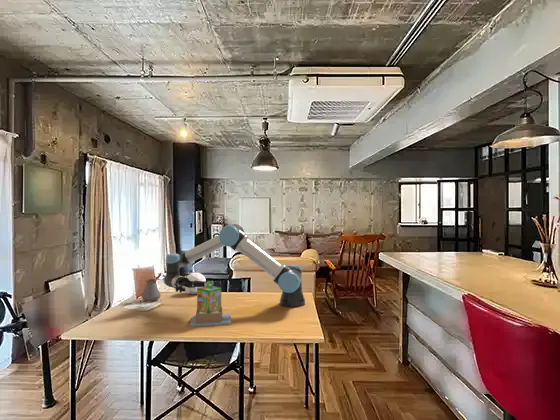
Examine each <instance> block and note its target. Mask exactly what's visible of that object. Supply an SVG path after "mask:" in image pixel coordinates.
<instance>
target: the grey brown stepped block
mask: <svg viewBox="0 0 560 420" xmlns="http://www.w3.org/2000/svg"><path fill="white" fill-rule="evenodd" d="M195 312H196V313H195V314H193V315H192V317H191V321H190V323H189V327H190V326H191V327H206V326H207V327H208V326H227V325H228V326H229V325H230V326H231V325H232V314H231V313H230V312H229V313H223V306H221V310H218V311H214V312H211V313H206V312H202V311H198V310H197V309H196V311H195Z"/></svg>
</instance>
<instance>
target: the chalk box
mask: <svg viewBox="0 0 560 420" xmlns="http://www.w3.org/2000/svg"><path fill="white" fill-rule="evenodd" d="M206 281H207V286H206V287H201V288H197V294H196V311H197V310H198V311H202V312H206V313H211V312H214V311H218V310H221V307H222V287H221V286H220V287H219V286H214V284H215V282H214V281H211V280H206ZM209 284H211V286H209Z"/></svg>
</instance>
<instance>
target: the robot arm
mask: <svg viewBox="0 0 560 420" xmlns="http://www.w3.org/2000/svg"><path fill="white" fill-rule="evenodd" d="M224 247H229V248H231V249H232V250H233V251H234V252H240V253H241V254H242V255H243V256H245V257H246V258H248V259H249V260H250V261H251V262H253V263H254V264H255V265H257V266H258V267H259V268H261V269H262V270H263V271H264V272H266V273H267V274H268V275H269V276H271V277H272V281H273V282H274V283H275V284H276V285H277V286H278V287H279V289H280V290H281V291H282V292H281V296H280V299H279V305H281V306H283V307H289V308H290V307H291V308H293V307H294V308H295V307H297V308H298V307H302V306H304V305H306V298H305V296H304V293H303V274H302V273H303V267H302V266H301V265H287V264H281V263H280V262H279V261H277V260H276V259H275V258H274V257H272V256H271V255H269V254H268V253H267V252H266V251H264V250H263V249H262V248H261V247H259V246H258V245H257V244H256V243H254V242H253V241H252V240H250V239H249V235H248V234H247V233H245V230H244V229H243V227H242V226H241V225H239V224H236V223H235V224H234V223H233V224H227V225H225V226H224V227H222V228H221V230H220V231H219V235H216V236H214V237H213V238H210V239H208V240H207V241H205V242H202V243H201V244H198V245H196V246H194V247H193V248H191V249H189V250H186V251H184V252H182V253H181V254H179V253H168V254H166V257H165V258H166V259H165V264H166V266H165V268H166V271H165V275H164V277H163V283H164V285H165V286H168V287H169V288H172V289H173V288H174V289H175V292H176V293H177V292H179V293H183V292H184V293H187V294H191V293H190V288H195V287H206V286H207V281H208V280H206V282H205V281H196V280H195V281H190V280H189V279H188V278H186V277H187V276H182V275H180V274H181V273H180V271H181V270H180V269H181V268H183V267H186V266H187V265H189V264H191V263H193V262H195V261H197V260H199V259H201V258H203V257H205V256H207V255H210V254H211V253H213V252H216V251H218V250H219V249H221V248H224ZM209 286H211V283H209Z"/></svg>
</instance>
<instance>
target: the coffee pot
mask: <svg viewBox="0 0 560 420" xmlns="http://www.w3.org/2000/svg"><path fill="white" fill-rule="evenodd" d="M160 276H161V277H162V276H163V273H162V272H160V273H159V274H158V275H157V276H156V278H154V279H152V278H151V279H145V282H146V285H145V287H144V290H143V293H142V295H141V299H142V300H143V301H144V302H146V301H153V302H158V300H160V298H161V292H160V290H159V289H158V286H157V284H156V282H157V280H158V279H159V278H160Z"/></svg>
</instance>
